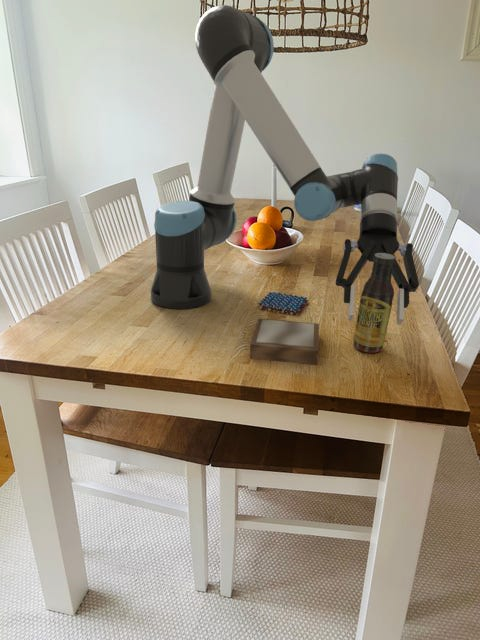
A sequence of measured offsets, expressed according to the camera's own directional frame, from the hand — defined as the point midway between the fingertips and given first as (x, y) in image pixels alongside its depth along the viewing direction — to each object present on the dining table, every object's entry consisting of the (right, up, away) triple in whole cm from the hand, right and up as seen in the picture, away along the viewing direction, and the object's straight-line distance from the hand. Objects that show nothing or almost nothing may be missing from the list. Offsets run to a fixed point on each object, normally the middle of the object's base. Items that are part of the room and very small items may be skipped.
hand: (375, 319), depth 95 cm
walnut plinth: (-17, -6, +5) cm, 19 cm away
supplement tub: (+35, +54, +146) cm, 160 cm away
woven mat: (-16, +3, +27) cm, 31 cm away
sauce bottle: (0, -6, +6) cm, 9 cm away
